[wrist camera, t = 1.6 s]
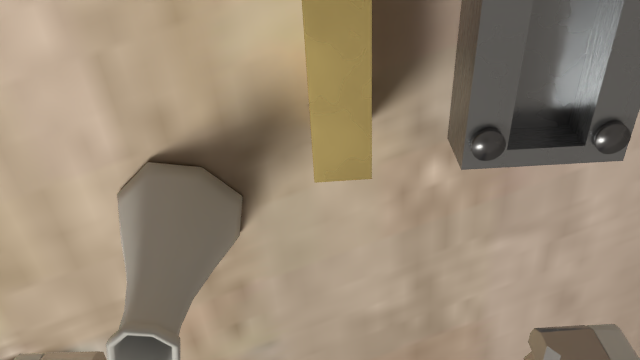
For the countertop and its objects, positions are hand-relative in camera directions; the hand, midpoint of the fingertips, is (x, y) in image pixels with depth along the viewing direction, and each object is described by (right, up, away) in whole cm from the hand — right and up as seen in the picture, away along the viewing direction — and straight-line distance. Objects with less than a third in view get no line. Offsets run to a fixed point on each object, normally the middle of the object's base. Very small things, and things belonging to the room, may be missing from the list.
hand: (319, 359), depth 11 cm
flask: (-8, +2, +22) cm, 23 cm away
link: (+11, +10, +17) cm, 22 cm away
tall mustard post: (+1, +11, +15) cm, 19 cm away
